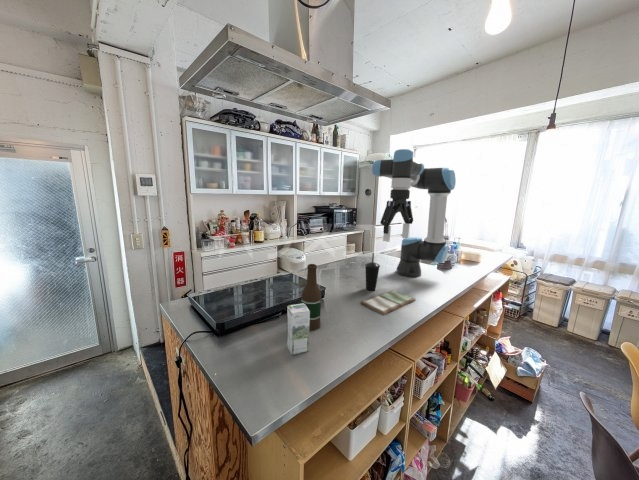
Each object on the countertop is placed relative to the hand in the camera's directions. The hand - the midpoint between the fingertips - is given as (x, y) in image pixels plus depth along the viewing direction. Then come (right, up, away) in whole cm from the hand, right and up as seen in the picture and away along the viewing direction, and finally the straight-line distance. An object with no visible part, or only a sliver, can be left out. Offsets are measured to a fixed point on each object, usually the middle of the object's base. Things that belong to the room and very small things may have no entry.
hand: (396, 239), depth 108 cm
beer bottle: (-36, -33, -12) cm, 50 cm away
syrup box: (-40, -36, -27) cm, 60 cm away
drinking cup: (-6, -27, +25) cm, 37 cm away
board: (0, -29, +10) cm, 31 cm away
